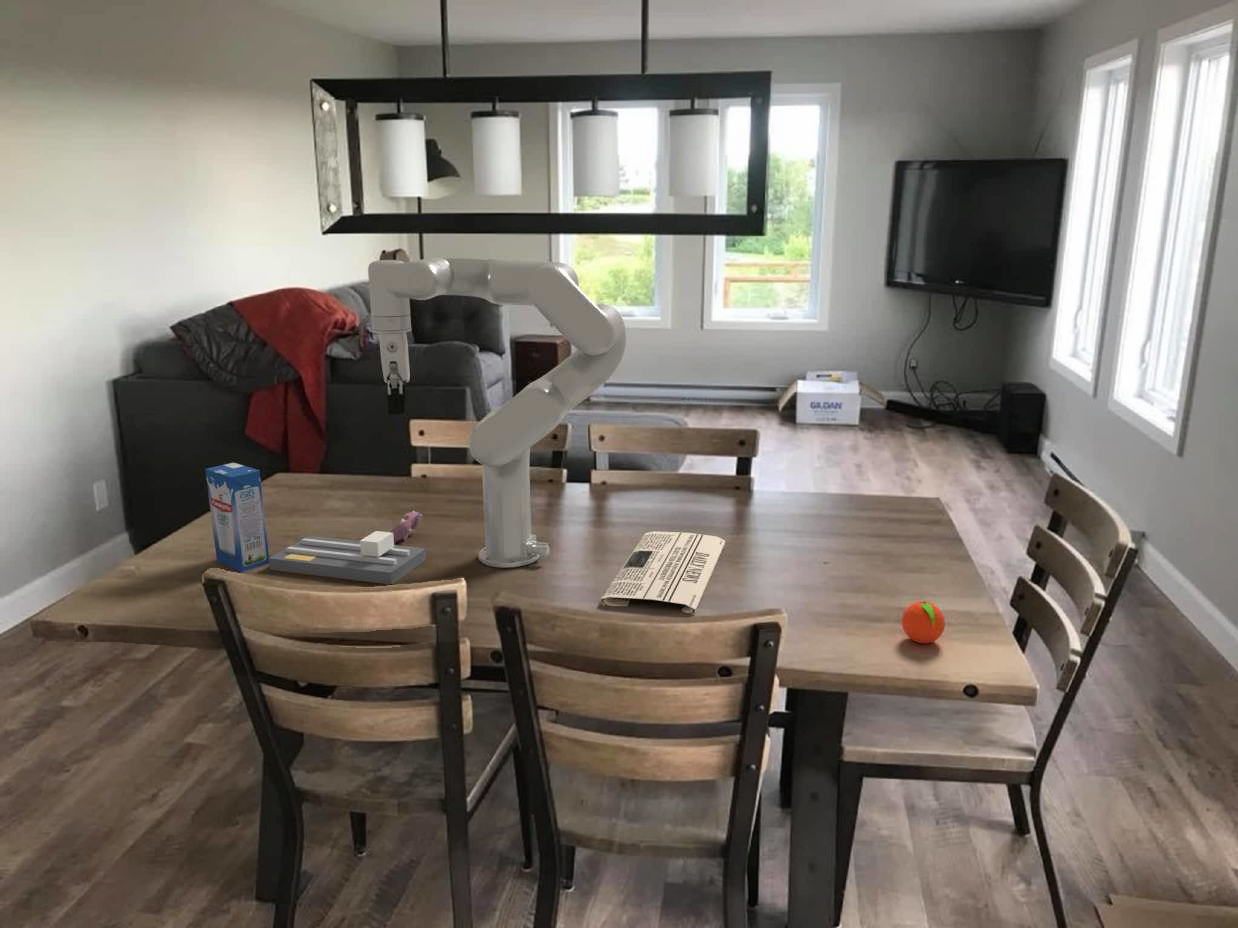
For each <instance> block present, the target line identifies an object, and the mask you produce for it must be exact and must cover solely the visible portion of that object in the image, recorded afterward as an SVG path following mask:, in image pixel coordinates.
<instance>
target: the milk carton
mask: <svg viewBox="0 0 1238 928" xmlns="http://www.w3.org/2000/svg"><path fill="white" fill-rule="evenodd" d="M204 470H205V477H206V478H205V479H206V486H207V492H208V499H209V500H208V501H209V507H210V517H211V525H212V532H213V540H214V547H215V556H216V557H215V558H216V562H218V561H219V562H218V563H220V562H221V563H220V564H222V563H223V564H222V565H225V566H227V567H229V568H231V569H234V570H236V571H238V572H240V573H243V572H247V571H250V570H253V569H257V568H259V567H264V566H266V565H269V558H270V552H269V542H268V537H267V534H268V533H267V526H266V519H265V508H264V507H265V506H264V499H263V492H262V490H263V489H262V483H261V482H262V481H261V472H260V469H256V468H254V467H249V466H247V465H243V464H240V463H236V462H230V463H225V464H221V465H217V466H214V467H213V466H212V467H208V468H205V469H204Z"/></svg>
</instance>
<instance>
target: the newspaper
mask: <svg viewBox="0 0 1238 928" xmlns="http://www.w3.org/2000/svg"><path fill="white" fill-rule="evenodd" d="M725 545H726V540H724V539H723V538H721V537H719V536H717V535H716V536H715V535H709V534H700V533H694V532H693V533H692V532H678V531H675V532H674V531H649V532H645V533H644V534H643V536H642V538H641V539H640V540H639V542H638V544H637V545H636V546H635V548H634V550H632V553H631V554H630V555H629V557H628V558H627V560H626V562H625V563H623V566H622V567H621V569H620V570H619V571H618V573H617V575H616V576H615V577H614V579H613V580H612V582H611V583H610V585H609V586H608V587H607V590H606V591H605V593H604V594H603V595H602V597H601V598H600V604H601V605H602V606H603V607H606V606H608V607H628V605H629V603H630V602H631V600H632V599H633V600H634V599H637V600H647V601H648V600H649V601H661V602H667V603H674V604H680V605H683V608H682V609H681V612H683V613H686V614H690V615H695V614H696V612H697V610H698V608H699V606H700V603H701V601H702V598H703V596H704V593H705V592H706V589H707V586H708V584H709V582H710V580H711V578H712V575H713V574H714V571H715V568H716V566H717V564H718V561H719V559H720V557H721V554H722V552H723V550H724V547H725Z"/></svg>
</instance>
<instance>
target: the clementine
mask: <svg viewBox="0 0 1238 928" xmlns="http://www.w3.org/2000/svg"><path fill="white" fill-rule="evenodd" d="M901 625H902V628H903V632H904V634H905V635H907V637H908V638H909V639H910V640H912V641H914V642H916V643H918V644H930V643H933V642H936V641H937V640H938V639H939V638H940V637H941V636H942V634H943V632H944V631H945V628H946V620H945V615H944V614H943V612H942V610H940V608H939V607H938V606H937V605H935V604H934V603H932V602H929V601H925V600H924V601H916V602H914V603H912V604H910V605H908V607H906V609H905V610H904V612H903V613H902V618H901Z"/></svg>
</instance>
